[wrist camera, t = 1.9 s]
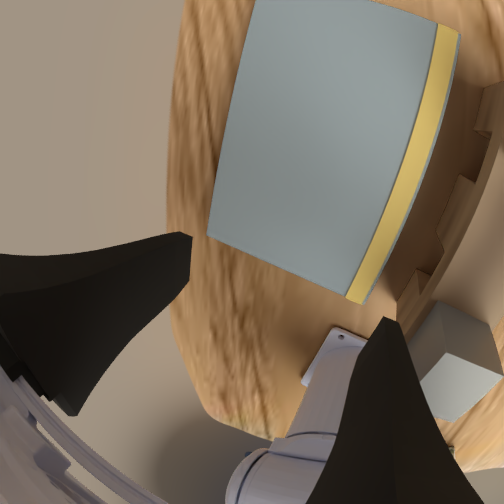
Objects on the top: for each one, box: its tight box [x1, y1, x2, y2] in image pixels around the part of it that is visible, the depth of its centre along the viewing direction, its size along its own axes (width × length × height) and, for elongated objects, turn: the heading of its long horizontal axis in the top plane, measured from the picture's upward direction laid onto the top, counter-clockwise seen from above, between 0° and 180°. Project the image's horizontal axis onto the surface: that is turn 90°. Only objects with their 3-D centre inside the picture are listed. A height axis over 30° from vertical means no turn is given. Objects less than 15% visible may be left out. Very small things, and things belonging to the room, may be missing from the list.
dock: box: [206, 0, 461, 305], centre depth 15 cm, size 12×18×2 cm, turn 167°
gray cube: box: [407, 300, 504, 423], centre depth 11 cm, size 4×4×4 cm
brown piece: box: [396, 81, 504, 344], centre depth 12 cm, size 5×16×5 cm, turn 167°
